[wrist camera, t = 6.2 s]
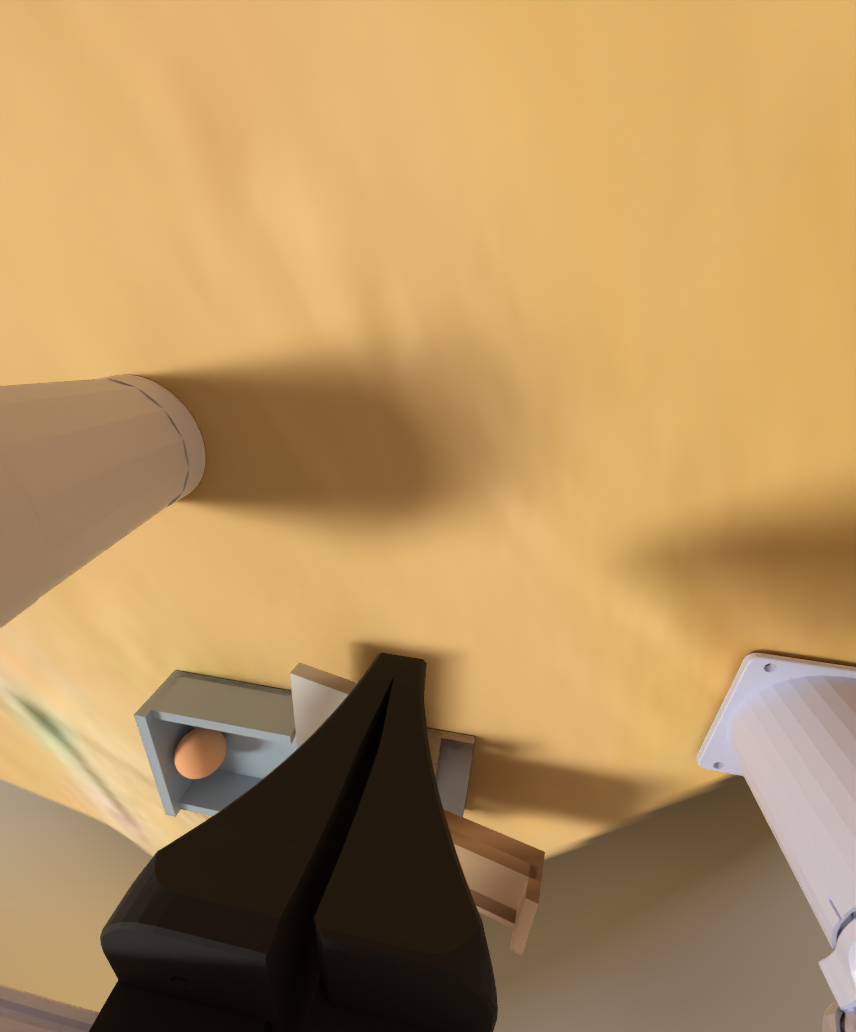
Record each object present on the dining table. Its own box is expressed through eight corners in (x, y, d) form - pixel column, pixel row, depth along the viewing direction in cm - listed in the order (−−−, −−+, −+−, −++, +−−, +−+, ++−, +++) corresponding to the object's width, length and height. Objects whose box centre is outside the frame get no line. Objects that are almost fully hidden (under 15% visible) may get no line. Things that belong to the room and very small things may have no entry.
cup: (252, 447, 21) (-17, 593, 10) (172, 542, 24) (-97, 729, 13) (111, 315, 19) (-387, 320, 8) (45, 435, 22) (-378, 550, 12)
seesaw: (572, 759, 19) (568, 810, 17) (528, 905, 24) (520, 957, 22) (299, 662, 23) (270, 694, 21) (311, 805, 28) (289, 841, 26)
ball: (231, 735, 28) (182, 767, 26) (237, 766, 29) (190, 799, 27) (210, 708, 30) (162, 736, 28) (216, 738, 31) (171, 767, 29)
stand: (475, 736, 27) (468, 822, 22) (463, 809, 30) (456, 898, 25) (378, 719, 27) (353, 799, 23) (377, 792, 30) (354, 875, 26)
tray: (311, 694, 27) (285, 744, 24) (318, 790, 31) (297, 843, 28) (175, 670, 28) (134, 714, 25) (198, 765, 32) (165, 814, 29)
